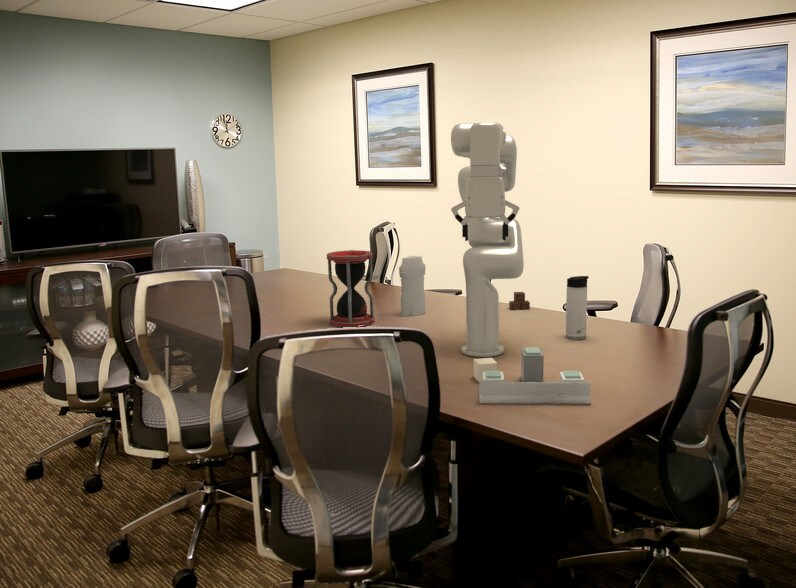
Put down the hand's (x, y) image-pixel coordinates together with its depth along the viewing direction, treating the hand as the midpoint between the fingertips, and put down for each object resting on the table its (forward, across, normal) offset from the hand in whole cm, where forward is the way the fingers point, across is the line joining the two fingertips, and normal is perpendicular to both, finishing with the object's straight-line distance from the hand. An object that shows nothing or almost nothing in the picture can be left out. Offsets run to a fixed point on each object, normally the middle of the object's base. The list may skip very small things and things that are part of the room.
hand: (485, 239), depth 188 cm
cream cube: (+37, 0, +2) cm, 37 cm away
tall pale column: (+37, +24, -74) cm, 86 cm away
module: (+37, -12, +4) cm, 39 cm away
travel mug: (+37, -30, -40) cm, 62 cm away
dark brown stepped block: (+37, -15, -84) cm, 93 cm away
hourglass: (+37, +45, -62) cm, 85 cm away
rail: (+37, -11, +20) cm, 43 cm away
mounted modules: (+37, -11, +15) cm, 41 cm away
